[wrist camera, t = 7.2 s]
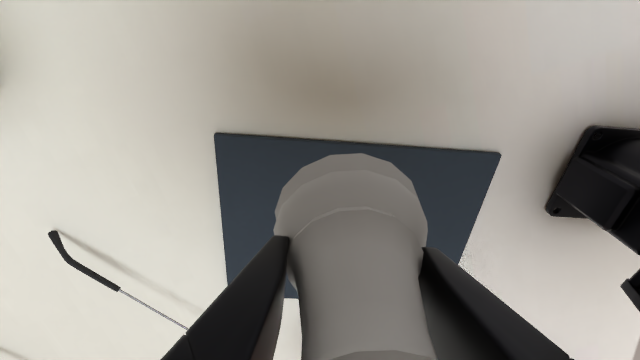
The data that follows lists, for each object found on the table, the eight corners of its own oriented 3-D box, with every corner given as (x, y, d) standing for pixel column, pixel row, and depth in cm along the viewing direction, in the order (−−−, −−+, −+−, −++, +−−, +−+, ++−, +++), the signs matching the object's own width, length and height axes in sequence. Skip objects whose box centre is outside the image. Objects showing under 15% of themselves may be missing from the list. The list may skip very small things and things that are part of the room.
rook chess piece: (422, 248, 11) (628, 710, 4) (299, 272, 11) (267, 717, 4) (406, 129, 9) (825, 670, 1) (256, 166, 9) (40, 695, 2)
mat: (498, 152, 20) (502, 155, 19) (440, 301, 26) (442, 305, 26) (215, 132, 19) (213, 134, 18) (229, 291, 25) (228, 295, 25)
